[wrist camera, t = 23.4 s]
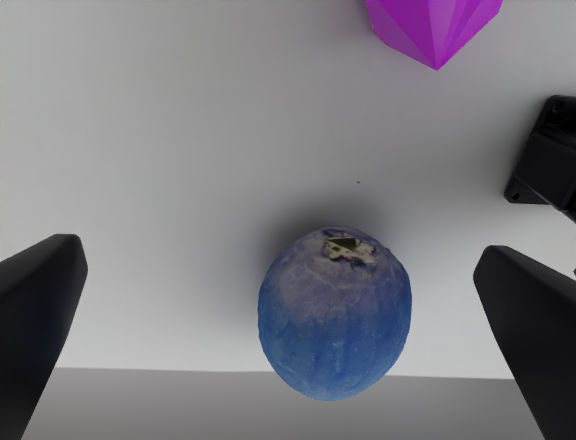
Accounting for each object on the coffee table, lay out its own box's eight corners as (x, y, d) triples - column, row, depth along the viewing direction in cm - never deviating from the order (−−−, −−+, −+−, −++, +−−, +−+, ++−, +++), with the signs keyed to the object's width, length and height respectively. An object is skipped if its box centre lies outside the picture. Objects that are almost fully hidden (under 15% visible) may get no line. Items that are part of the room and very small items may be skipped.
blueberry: (459, 270, 13) (370, 463, 21) (457, 168, 20) (390, 345, 28) (231, 207, 15) (234, 405, 23) (300, 134, 22) (283, 309, 30)
